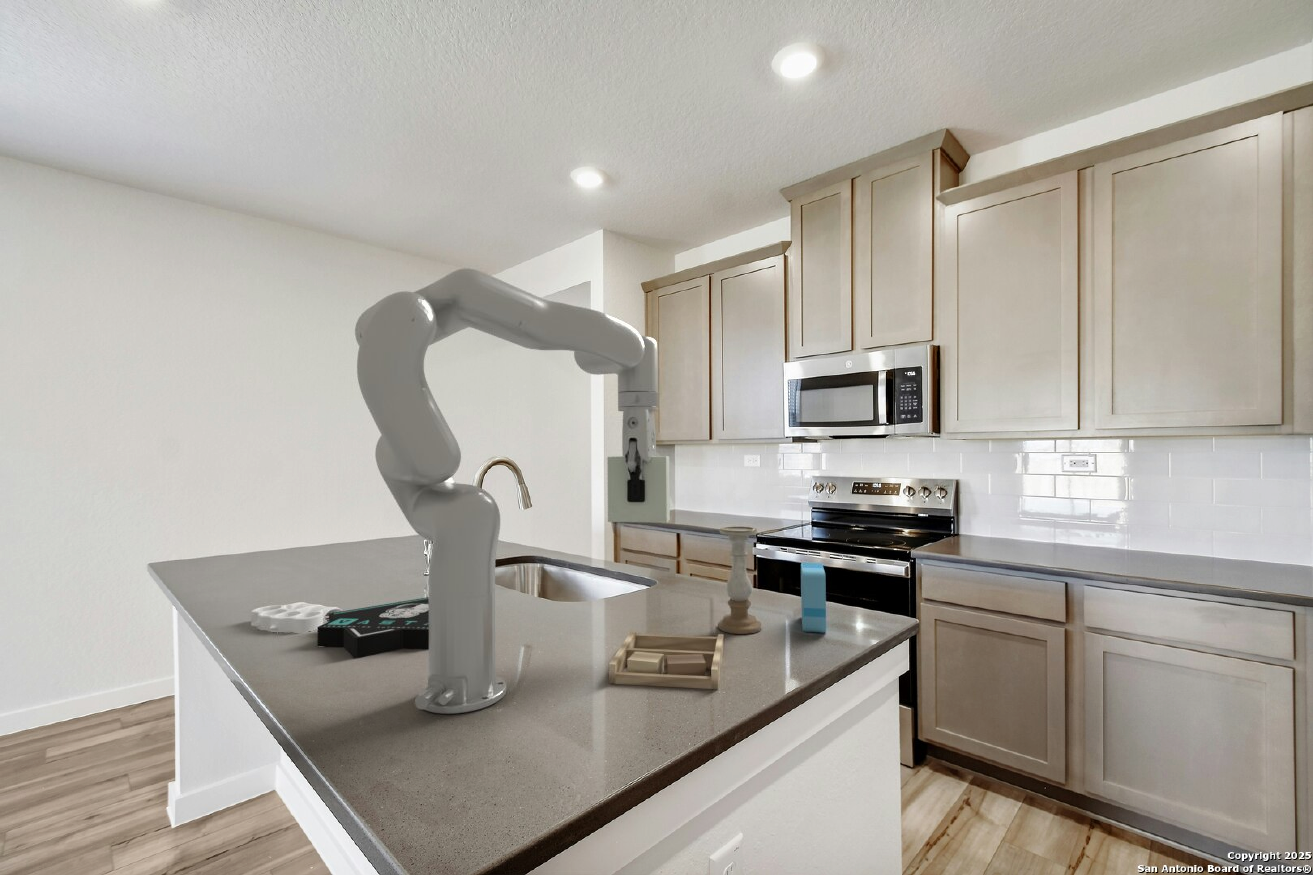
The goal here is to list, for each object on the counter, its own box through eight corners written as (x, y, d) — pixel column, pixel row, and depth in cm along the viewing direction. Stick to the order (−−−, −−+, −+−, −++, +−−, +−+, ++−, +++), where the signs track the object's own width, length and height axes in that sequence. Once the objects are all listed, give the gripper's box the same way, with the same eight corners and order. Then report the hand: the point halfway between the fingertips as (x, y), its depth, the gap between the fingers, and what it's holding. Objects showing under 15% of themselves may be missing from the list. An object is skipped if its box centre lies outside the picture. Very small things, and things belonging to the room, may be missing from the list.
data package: (826, 634, 118) (825, 573, 119) (802, 633, 119) (801, 572, 119) (823, 617, 130) (822, 562, 130) (801, 616, 131) (800, 561, 131)
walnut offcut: (705, 681, 96) (705, 662, 96) (668, 682, 95) (667, 663, 95) (702, 672, 100) (702, 654, 100) (666, 673, 99) (666, 655, 99)
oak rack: (717, 689, 92) (717, 669, 92) (609, 683, 95) (609, 664, 95) (723, 651, 109) (723, 634, 109) (631, 646, 112) (631, 630, 112)
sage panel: (666, 522, 110) (666, 456, 110) (607, 521, 111) (607, 456, 112) (669, 519, 114) (669, 456, 114) (612, 519, 115) (612, 456, 116)
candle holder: (720, 635, 119) (719, 531, 119) (715, 622, 127) (714, 525, 128) (765, 634, 119) (764, 531, 119) (756, 621, 128) (755, 525, 128)
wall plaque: (436, 662, 106) (497, 615, 136) (436, 639, 106) (497, 597, 136) (276, 659, 109) (370, 613, 138) (276, 636, 109) (370, 595, 139)
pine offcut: (657, 681, 96) (657, 662, 96) (627, 678, 97) (627, 659, 97) (664, 672, 100) (663, 654, 100) (635, 669, 101) (635, 651, 101)
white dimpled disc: (352, 621, 132) (288, 641, 119) (298, 612, 140) (231, 630, 126) (353, 605, 132) (288, 623, 119) (298, 597, 140) (231, 614, 126)
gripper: (650, 399, 104) (650, 505, 104) (664, 405, 121) (665, 497, 120) (607, 400, 105) (608, 505, 105) (627, 406, 122) (628, 497, 121)
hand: (638, 499), depth 113 cm, fingers closed on sage panel, 4 cm apart
